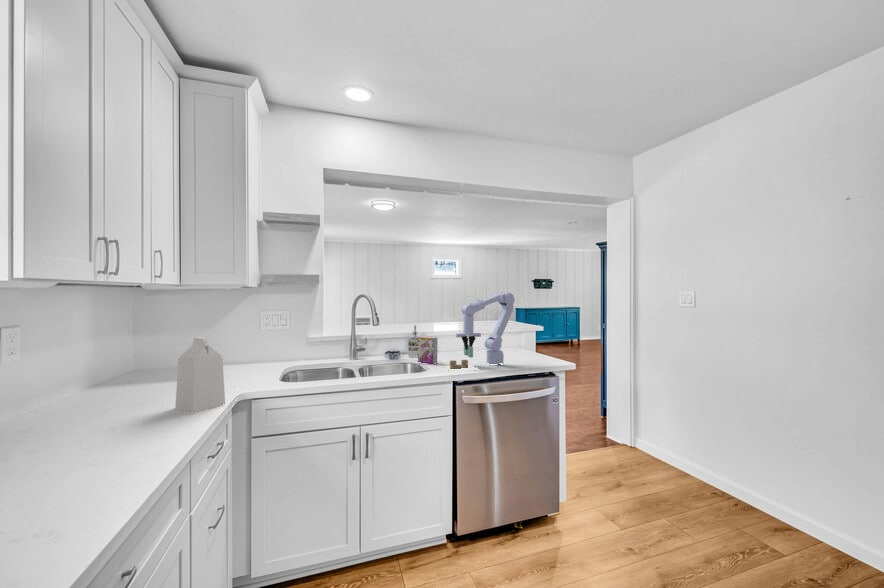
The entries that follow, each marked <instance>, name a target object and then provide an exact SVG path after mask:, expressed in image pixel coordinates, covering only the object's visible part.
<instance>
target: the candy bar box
mask: <svg viewBox="0 0 884 588" xmlns="http://www.w3.org/2000/svg"><path fill="white" fill-rule="evenodd" d="M417 343H418V344H417V348H418V349H417V363H418V362H421V363H427V365H432V364H433V365H436V364H435V363H437V364H438V337H437V336H426V335H420V336H417Z"/></svg>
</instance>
